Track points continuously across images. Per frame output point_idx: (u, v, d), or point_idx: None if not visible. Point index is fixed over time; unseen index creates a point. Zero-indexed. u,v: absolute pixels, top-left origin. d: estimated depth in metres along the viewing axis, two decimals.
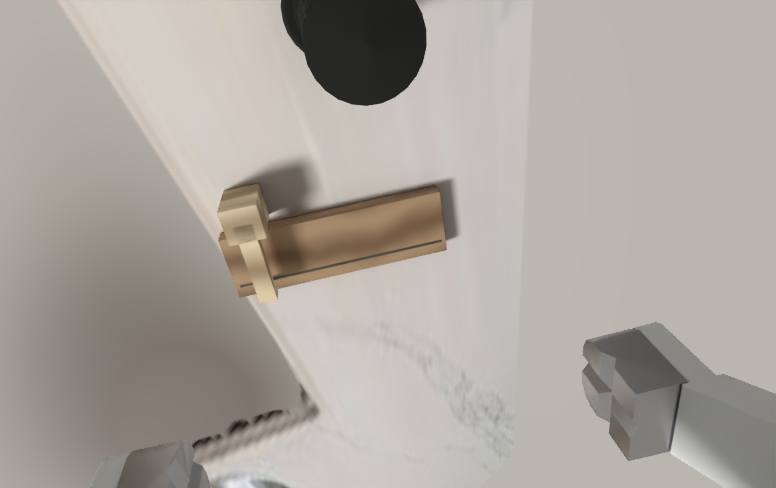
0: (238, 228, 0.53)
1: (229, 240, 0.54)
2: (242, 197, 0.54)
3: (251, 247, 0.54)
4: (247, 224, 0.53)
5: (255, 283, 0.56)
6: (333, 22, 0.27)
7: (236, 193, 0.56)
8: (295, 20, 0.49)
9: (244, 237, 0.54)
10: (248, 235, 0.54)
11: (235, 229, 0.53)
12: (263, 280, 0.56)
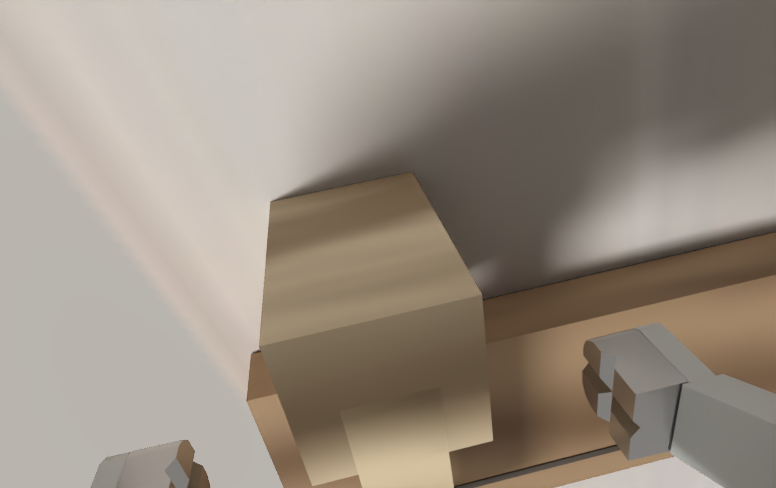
0: (369, 413, 0.10)
1: (315, 464, 0.10)
2: (374, 243, 0.11)
3: (414, 481, 0.11)
4: (416, 391, 0.10)
5: None
6: None
7: (332, 217, 0.13)
8: None
9: (390, 446, 0.11)
10: (411, 437, 0.11)
11: (351, 417, 0.10)
12: None
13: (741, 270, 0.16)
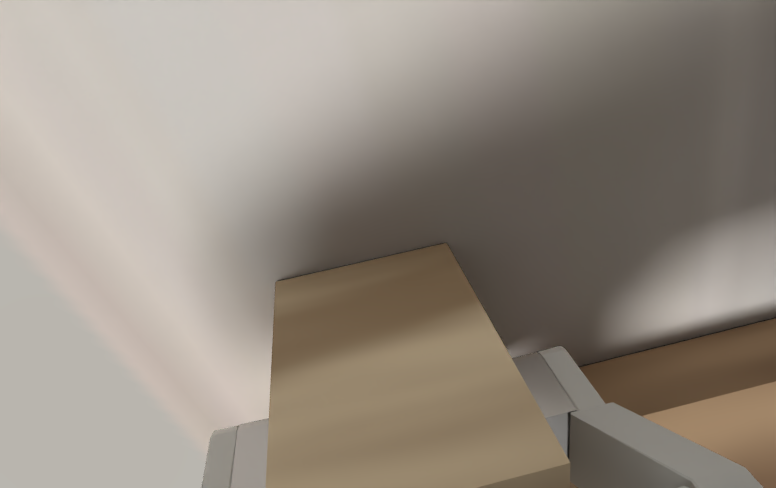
0: None
1: None
2: (410, 357, 0.09)
3: None
4: None
5: None
6: None
7: (352, 310, 0.10)
8: None
9: None
10: None
11: None
12: None
13: None
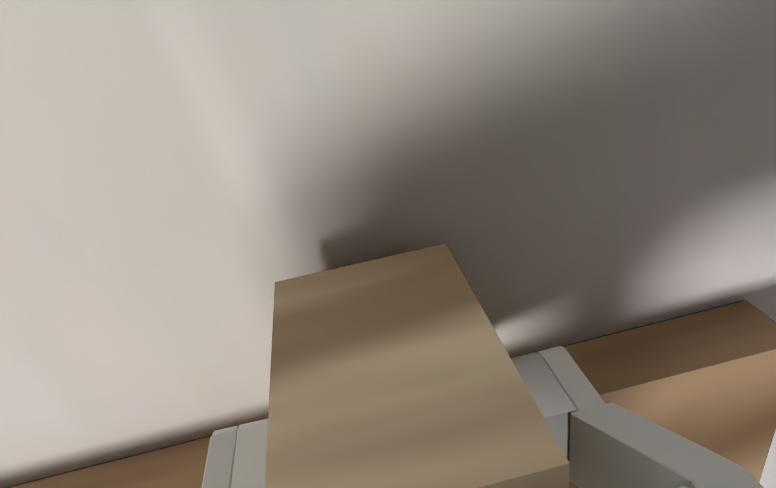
0: None
1: None
2: (409, 358, 0.09)
3: None
4: None
5: None
6: None
7: (352, 310, 0.10)
8: None
9: None
10: None
11: None
12: None
13: None
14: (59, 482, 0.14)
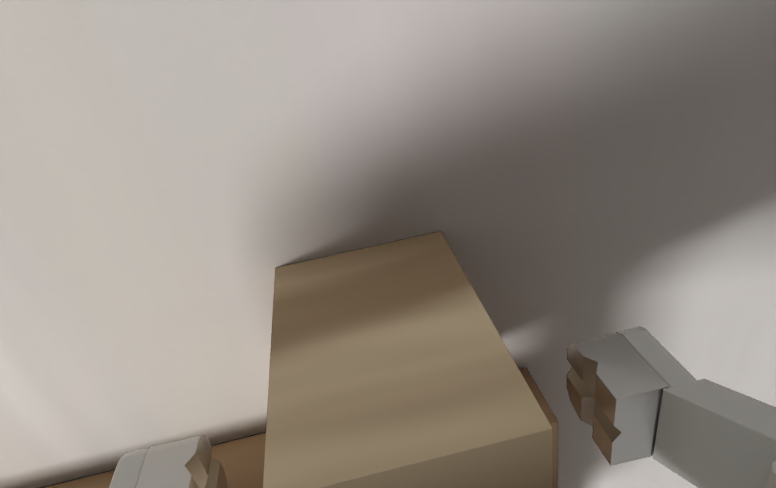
0: None
1: None
2: (403, 335, 0.09)
3: None
4: None
5: None
6: None
7: (349, 293, 0.10)
8: None
9: None
10: None
11: None
12: None
13: None
14: None
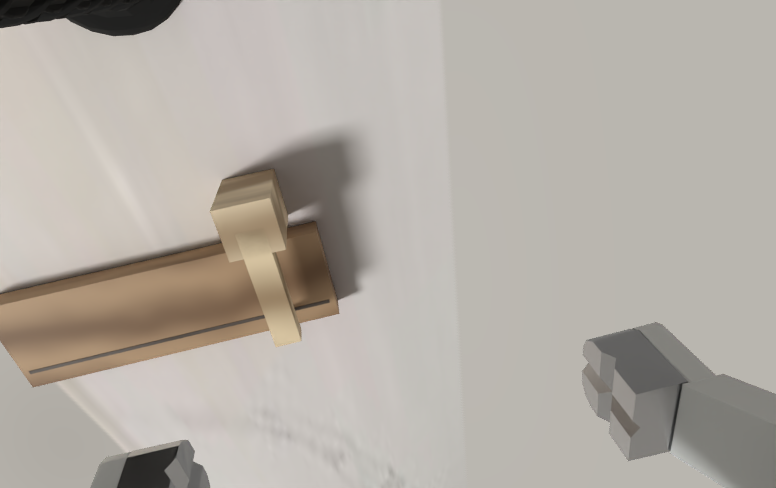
0: (243, 235, 0.35)
1: (229, 253, 0.35)
2: (249, 189, 0.36)
3: (263, 264, 0.36)
4: (256, 228, 0.34)
5: (268, 317, 0.38)
6: None
7: (240, 183, 0.37)
8: None
9: (252, 248, 0.35)
10: (258, 245, 0.35)
11: (238, 236, 0.35)
12: (281, 313, 0.38)
13: (187, 258, 0.40)
14: (58, 282, 0.40)
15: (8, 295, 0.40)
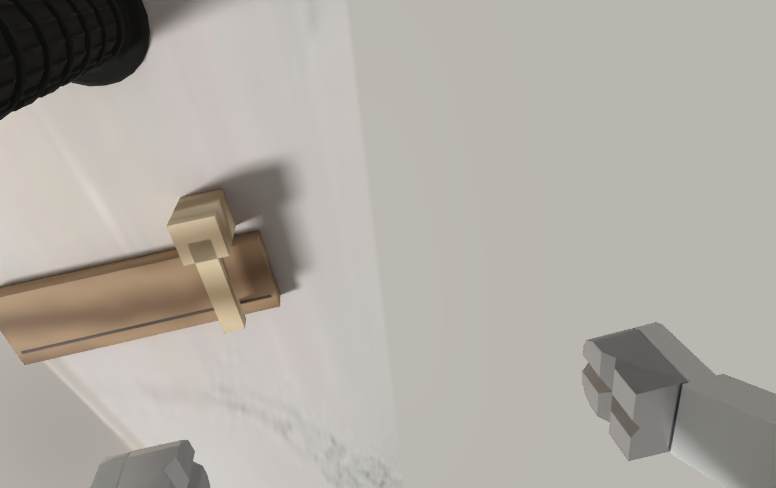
0: (194, 245, 0.44)
1: (183, 258, 0.44)
2: (200, 207, 0.45)
3: (210, 267, 0.45)
4: (204, 239, 0.44)
5: (217, 309, 0.47)
6: None
7: (194, 201, 0.46)
8: None
9: (201, 255, 0.44)
10: (206, 252, 0.44)
11: (190, 245, 0.44)
12: (227, 306, 0.47)
13: (151, 261, 0.49)
14: (46, 279, 0.49)
15: (4, 289, 0.48)
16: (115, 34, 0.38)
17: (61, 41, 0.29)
